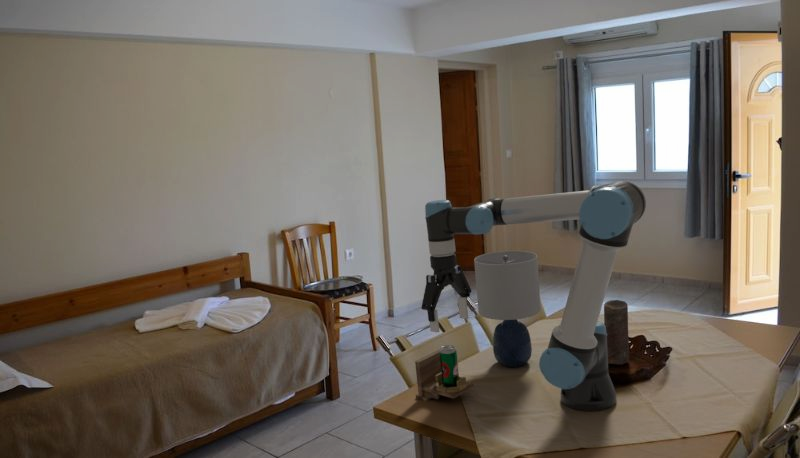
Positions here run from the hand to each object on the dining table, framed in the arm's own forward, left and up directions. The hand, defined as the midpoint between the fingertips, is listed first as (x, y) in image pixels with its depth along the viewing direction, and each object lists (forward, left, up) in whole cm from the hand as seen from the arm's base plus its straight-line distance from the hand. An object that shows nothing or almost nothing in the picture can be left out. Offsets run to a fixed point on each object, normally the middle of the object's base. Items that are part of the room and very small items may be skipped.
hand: (449, 324), depth 190 cm
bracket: (+4, +1, -23) cm, 23 cm away
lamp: (+1, -32, -23) cm, 39 cm away
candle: (-28, -48, -23) cm, 60 cm away
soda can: (+1, +1, -19) cm, 19 cm away
